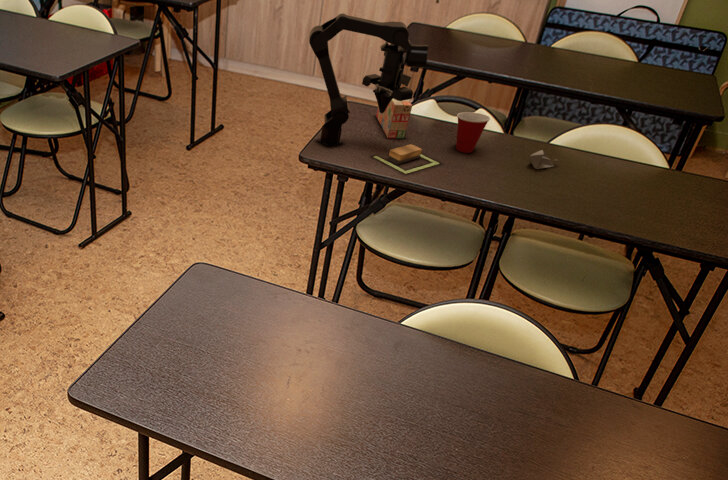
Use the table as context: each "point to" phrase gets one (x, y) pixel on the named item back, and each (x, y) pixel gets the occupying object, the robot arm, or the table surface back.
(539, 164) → the paper boat
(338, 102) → the robot arm
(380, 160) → the tape box
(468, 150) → the plastic cup
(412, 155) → the chalkboard eraser
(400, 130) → the tan printed boxy piece
